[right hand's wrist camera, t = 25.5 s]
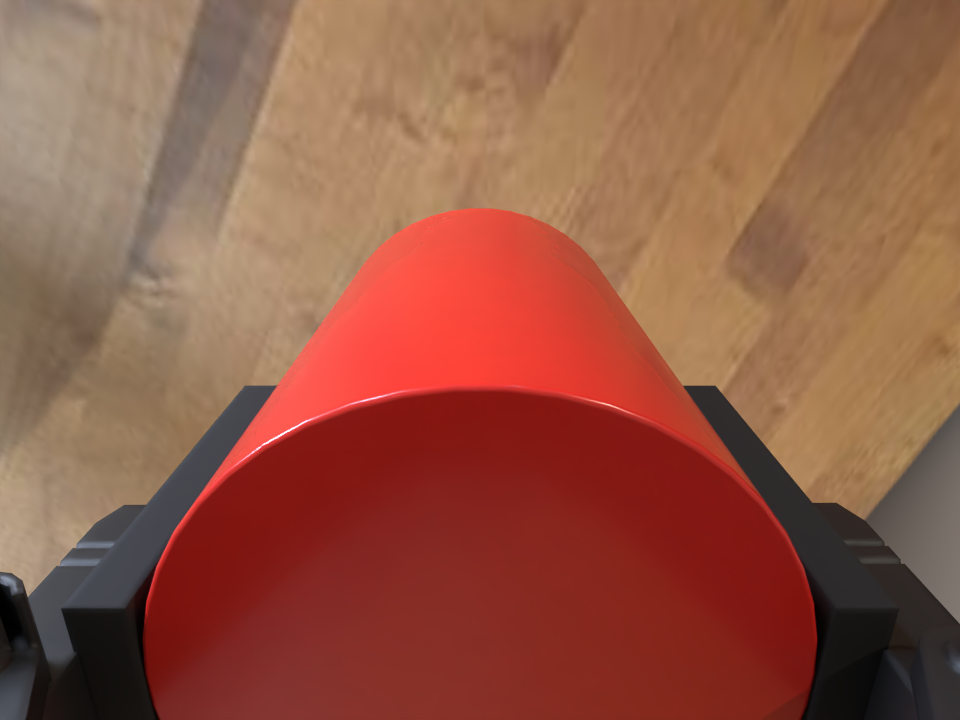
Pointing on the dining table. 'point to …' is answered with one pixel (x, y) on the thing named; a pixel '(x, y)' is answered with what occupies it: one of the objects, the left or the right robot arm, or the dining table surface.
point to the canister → (480, 516)
